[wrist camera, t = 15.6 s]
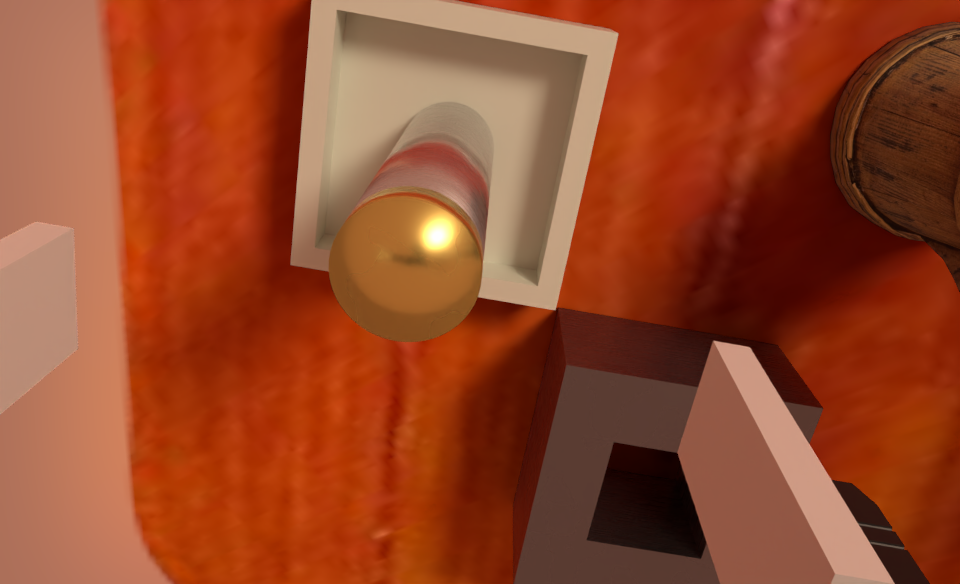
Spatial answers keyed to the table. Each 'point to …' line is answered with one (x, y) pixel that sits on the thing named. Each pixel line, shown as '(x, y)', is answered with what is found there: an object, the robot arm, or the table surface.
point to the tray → (466, 80)
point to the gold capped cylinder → (419, 229)
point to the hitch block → (627, 420)
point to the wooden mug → (905, 140)
